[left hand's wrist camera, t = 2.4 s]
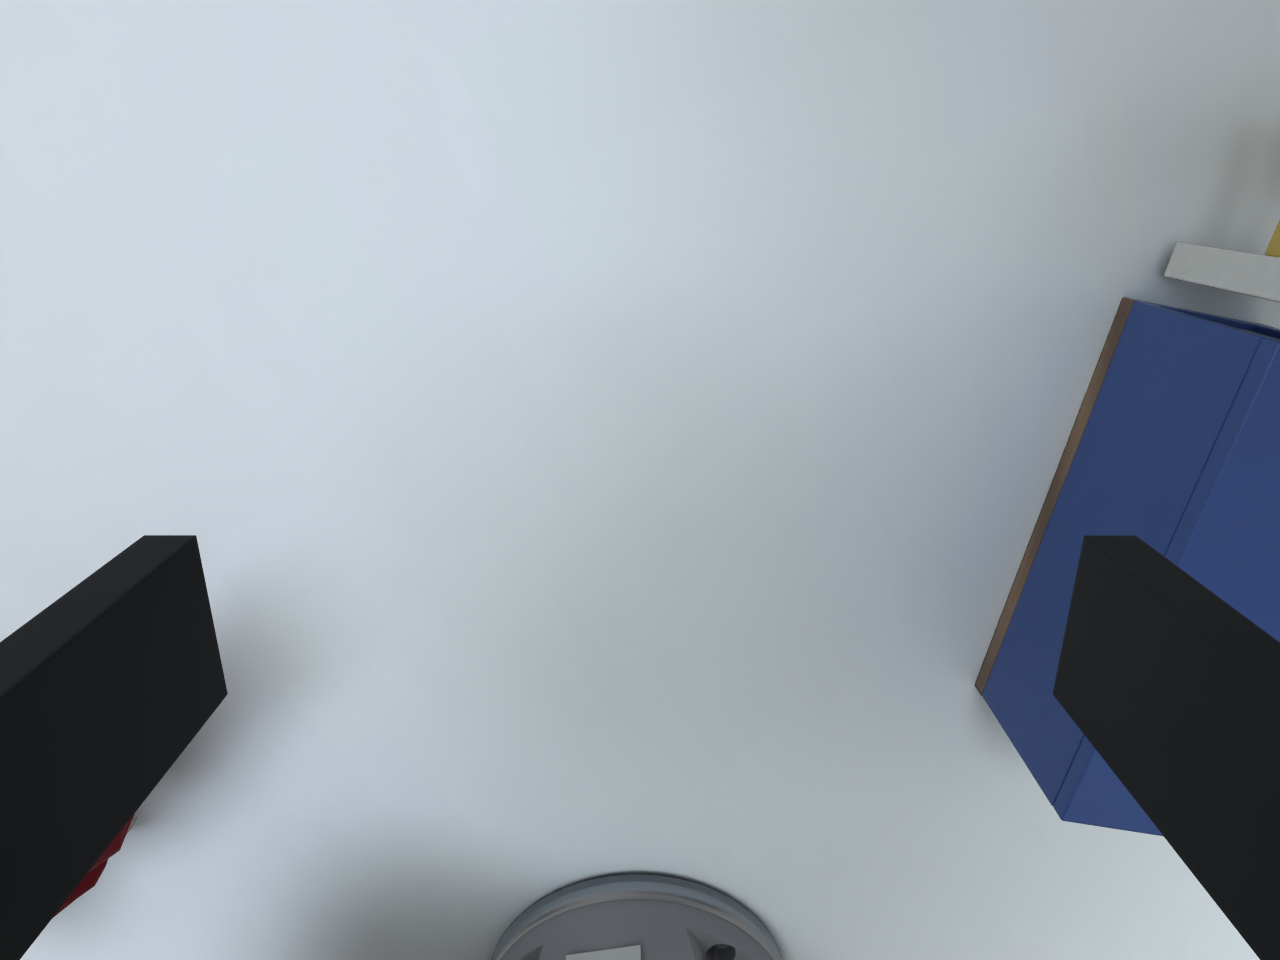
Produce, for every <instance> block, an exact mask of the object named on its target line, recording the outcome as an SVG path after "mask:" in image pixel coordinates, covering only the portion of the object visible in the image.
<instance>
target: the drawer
mask: <svg viewBox="0 0 1280 960" xmlns="http://www.w3.org/2000/svg"><path fill="white" fill-rule="evenodd" d="M1164 276H1165V277H1169V278H1173V279H1178V280H1182V281H1187V282H1191V283H1196V284H1200V285H1205V286H1209V287H1214V288H1218V289H1223V290H1227V291H1232V292H1236V293H1241V294H1245V295H1250V296H1254V297H1259V298H1263V299H1268V300H1272V301H1277V302H1280V220H1279V222H1278V224H1277V227H1276V229H1275V231H1274V234H1273V236H1272V238H1271V241H1270V243H1269V245H1268V248H1267V250H1266V252H1265V255H1260V254H1253V253H1247V252H1240V251H1234V250H1227V249H1221V248H1214V247H1207V246H1201V245H1194V244H1188V243H1181V242H1177V243H1176V246H1175V248H1174V251H1173V253H1172V256H1171V258H1170V261H1169V263H1168V266H1167V268H1166V271H1165V273H1164ZM1238 329H1240V328H1238ZM1242 330H1245V329H1242ZM1245 331H1249V330H1245ZM1249 332H1252V331H1249ZM1253 333H1256V332H1253ZM1256 334H1259V333H1256ZM1260 335H1263V334H1260ZM1263 336H1266V335H1263ZM1267 337H1270V336H1267ZM1270 338H1274V337H1270ZM1274 339H1277V338H1274ZM1277 340H1280V339H1277Z"/></svg>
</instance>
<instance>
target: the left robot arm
mask: <svg viewBox="0 0 1280 960" xmlns="http://www.w3.org/2000/svg"><path fill="white" fill-rule="evenodd" d="M226 695H227V689H226V684H225V679H224V674H223V669H222V664H221V659H220V654H219V649H218V644H217V639H216V634H215V629H214V624H213V618H212V613H211V608H210V603H209V598H208V593H207V588H206V583H205V578H204V573H203V568H202V563H201V558H200V553H199V548H198V543H197V538H196V536H143V537H142V538H140V539H139V540H138V541H136V542H135V543H133V544H132V545H131V546H129V547H128V548H127V549H125V550H124V551H123V552H121V553H120V554H119V555H117V556H116V557H115V558H113V559H112V560H111V561H109V562H108V563H107V564H105V565H104V566H102V567H101V568H100V569H98V570H97V571H96V572H94V573H93V574H92V575H90V576H89V577H88V578H86V579H85V580H84V581H82V582H81V583H80V584H78V585H77V586H76V587H74V588H73V589H72V590H70V591H69V592H67V593H66V594H65V595H63V596H62V597H61V598H59V599H58V600H57V601H55V602H54V603H53V604H51V605H50V606H49V607H47V608H46V609H45V610H43V611H42V612H41V613H39V614H38V615H37V616H35V617H34V618H32V619H31V620H30V621H28V622H27V623H26V624H24V625H23V626H22V627H20V628H19V629H18V630H16V631H15V632H14V633H12V634H11V635H10V636H8V637H7V638H6V639H4V640H3V641H2V642H0V960H20V959H21V957H22V956H23V955H24V953H25V952H26V951H27V950H28V948H29V947H30V946H31V944H32V943H33V942H34V941H35V939H36V938H37V937H38V936H39V934H40V933H41V932H42V930H43V929H44V928H45V927H46V925H47V924H48V923H49V922H50V920H51V919H52V918H53V916H54V915H55V914H56V913H57V911H58V910H59V909H60V907H61V906H62V905H63V904H64V902H65V901H66V900H67V899H68V897H69V896H70V895H71V893H72V892H73V891H74V890H75V888H76V887H77V886H78V884H79V883H80V882H81V881H82V879H83V878H84V877H85V876H86V874H87V873H88V872H89V870H90V869H91V868H92V867H93V865H94V864H95V863H96V861H97V860H98V859H99V858H100V856H101V855H102V854H103V853H104V851H105V850H106V849H107V847H108V846H109V845H110V844H111V842H112V841H113V840H114V838H115V837H116V836H117V835H118V833H119V832H120V831H121V830H122V828H123V827H124V826H125V824H126V823H127V822H128V821H129V819H130V818H131V817H132V815H133V814H134V813H135V812H136V810H137V809H138V808H139V807H140V805H141V804H142V803H143V801H144V800H145V799H146V798H147V796H148V795H149V794H150V793H151V791H152V790H153V789H154V787H155V786H156V785H157V784H158V782H159V781H160V780H161V778H162V777H163V776H164V775H165V773H166V772H167V771H168V770H169V768H170V767H171V766H172V764H173V763H174V762H175V761H176V759H177V758H178V757H179V755H180V754H181V753H182V752H183V750H184V749H185V748H186V747H187V745H188V744H189V743H190V741H191V740H192V739H193V738H194V736H195V735H196V734H197V732H198V731H199V730H200V729H201V727H202V726H203V725H204V724H205V722H206V721H207V720H208V718H209V717H210V716H211V715H212V713H213V712H214V711H215V709H216V708H217V707H218V706H219V704H220V703H221V702H222V701H223V699H224V698H225V697H226ZM1053 695H1054V697H1055V698H1056V699H1057V701H1058V702H1059V703H1060V704H1061V706H1062V707H1063V708H1064V709H1065V711H1066V712H1067V713H1068V715H1069V716H1070V717H1071V718H1072V720H1073V721H1074V722H1075V724H1076V725H1077V726H1078V727H1079V729H1080V730H1081V731H1082V732H1083V734H1084V735H1085V736H1086V738H1087V739H1088V740H1089V741H1090V743H1091V744H1092V745H1093V747H1094V748H1095V749H1096V750H1097V752H1098V753H1099V754H1100V755H1101V757H1102V758H1103V759H1104V761H1105V762H1106V763H1107V764H1108V766H1109V767H1110V768H1111V770H1112V771H1113V772H1114V773H1115V775H1116V776H1117V777H1118V778H1119V780H1120V781H1121V782H1122V784H1123V785H1124V786H1125V787H1126V789H1127V790H1128V791H1129V793H1130V794H1131V795H1132V796H1133V798H1134V799H1135V800H1136V801H1137V803H1138V804H1139V805H1140V807H1141V808H1142V809H1143V810H1144V812H1145V813H1146V814H1147V815H1148V817H1149V818H1150V819H1151V821H1152V822H1153V823H1154V824H1155V826H1156V827H1157V828H1158V830H1159V831H1160V832H1161V833H1162V835H1163V836H1164V837H1165V838H1166V840H1167V841H1168V842H1169V844H1170V845H1171V846H1172V847H1173V849H1174V850H1175V851H1176V853H1177V854H1178V855H1179V856H1180V858H1181V859H1182V860H1183V861H1184V863H1185V864H1186V865H1187V867H1188V868H1189V869H1190V870H1191V872H1192V873H1193V874H1194V876H1195V877H1196V878H1197V879H1198V881H1199V882H1200V883H1201V884H1202V886H1203V887H1204V888H1205V890H1206V891H1207V892H1208V893H1209V895H1210V896H1211V897H1212V899H1213V900H1214V901H1215V902H1216V904H1217V905H1218V906H1219V907H1220V909H1221V910H1222V911H1223V913H1224V914H1225V915H1226V916H1227V918H1228V919H1229V920H1230V922H1231V923H1232V924H1233V925H1234V927H1235V928H1236V929H1237V930H1238V932H1239V933H1240V934H1241V936H1242V937H1243V938H1244V939H1245V941H1246V942H1247V943H1248V944H1249V946H1250V947H1251V948H1252V950H1253V951H1254V952H1255V953H1256V955H1257V956H1258V957H1259V959H1260V960H1280V642H1278V641H1277V640H1276V639H1274V638H1273V637H1272V636H1270V635H1269V634H1268V633H1266V632H1265V631H1264V630H1262V629H1261V628H1260V627H1258V626H1257V625H1256V624H1254V623H1253V622H1252V621H1250V620H1249V619H1248V618H1246V617H1245V616H1243V615H1242V614H1241V613H1239V612H1238V611H1237V610H1235V609H1234V608H1233V607H1231V606H1230V605H1229V604H1227V603H1226V602H1225V601H1223V600H1222V599H1221V598H1219V597H1218V596H1217V595H1215V594H1214V593H1213V592H1211V591H1210V590H1208V589H1207V588H1206V587H1204V586H1203V585H1202V584H1200V583H1199V582H1198V581H1196V580H1195V579H1194V578H1192V577H1191V576H1190V575H1188V574H1187V573H1186V572H1184V571H1183V570H1182V569H1180V568H1179V567H1178V566H1176V565H1175V564H1173V563H1172V562H1171V561H1169V560H1168V559H1167V558H1165V557H1164V556H1163V555H1161V554H1160V553H1159V552H1157V551H1156V550H1155V549H1153V548H1152V547H1151V546H1149V545H1148V544H1147V543H1145V542H1144V541H1142V540H1141V539H1140V538H1138V537H1137V536H1084V538H1083V543H1082V548H1081V553H1080V558H1079V563H1078V568H1077V573H1076V578H1075V583H1074V588H1073V593H1072V598H1071V603H1070V608H1069V613H1068V618H1067V624H1066V629H1065V634H1064V639H1063V644H1062V649H1061V654H1060V659H1059V664H1058V669H1057V674H1056V679H1055V684H1054V689H1053ZM492 960H783V958H782V955H781V952H780V950H779V948H778V946H777V944H776V942H775V940H774V939H773V937H772V936H771V934H770V933H769V931H768V930H767V929H766V928H765V926H764V925H763V924H762V923H761V922H760V921H759V920H758V919H757V918H756V917H755V916H754V915H753V914H752V913H751V912H750V911H748V910H747V909H746V908H744V907H743V906H742V905H740V904H739V903H737V902H736V901H734V900H732V899H731V898H729V897H727V896H725V895H723V894H721V893H720V892H718V891H715V890H713V889H710V888H708V887H706V886H703V885H700V884H697V883H693V882H690V881H686V880H682V879H678V878H673V877H666V876H659V875H645V874H628V875H615V876H607V877H601V878H596V879H592V880H587V881H583V882H580V883H577V884H574V885H571V886H568V887H566V888H563V889H561V890H558V891H556V892H554V893H552V894H550V895H548V896H546V897H545V898H543V899H541V900H540V901H538V902H537V903H535V904H534V905H532V906H531V907H529V908H528V909H527V910H526V911H524V912H523V913H522V914H521V915H520V916H519V917H518V918H517V919H516V920H515V921H514V922H513V923H512V924H511V925H510V926H509V928H508V929H507V930H506V931H505V933H504V934H503V936H502V938H501V939H500V941H499V942H498V945H497V947H496V949H495V951H494V954H493V957H492Z"/></svg>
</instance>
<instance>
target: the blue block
mask: <svg viewBox="0 0 1280 960" xmlns="http://www.w3.org/2000/svg"><path fill="white" fill-rule="evenodd" d="M1238 328H1240V329H1238ZM1242 329H1245V330H1249V331H1252V332H1249V331H1245V330H1242ZM1253 332H1256V333H1259V334H1256V333H1253ZM1260 334H1263V335H1266V336H1263V335H1260ZM1267 336H1270V337H1274V338H1277V339H1280V329H1276V328H1274V327H1271V326H1267V325H1263V324H1259V323H1252V322H1247V321H1242V320H1236V319H1231V318H1226V317H1221V316H1216V315H1211V314H1205V313H1200V312H1195V311H1190V310H1185V309H1180V308H1174V307H1169V306H1164V305H1159V304H1154V303H1149V302H1143V301H1138V300H1133V299H1129V298H1125V297H1123V298H1122V301H1121V304H1120V306H1119V309H1118V312H1117V314H1116V317H1115V319H1114V322H1113V325H1112V327H1111V330H1110V332H1109V335H1108V338H1107V340H1106V343H1105V346H1104V348H1103V351H1102V353H1101V356H1100V359H1099V361H1098V364H1097V367H1096V369H1095V372H1094V374H1093V377H1092V380H1091V382H1090V385H1089V388H1088V390H1087V393H1086V395H1085V398H1084V401H1083V403H1082V406H1081V408H1080V411H1079V414H1078V416H1077V419H1076V422H1075V424H1074V427H1073V429H1072V432H1071V435H1070V437H1069V440H1068V443H1067V445H1066V448H1065V450H1064V453H1063V456H1062V458H1061V461H1060V464H1059V466H1058V469H1057V471H1056V474H1055V477H1054V479H1053V482H1052V484H1051V487H1050V490H1049V492H1048V495H1047V498H1046V500H1045V503H1044V505H1043V508H1042V511H1041V513H1040V516H1039V519H1038V521H1037V524H1036V526H1035V529H1034V532H1033V534H1032V537H1031V540H1030V542H1029V545H1028V547H1027V550H1026V553H1025V555H1024V558H1023V560H1022V563H1021V566H1020V568H1019V571H1018V574H1017V576H1016V579H1015V581H1014V584H1013V587H1012V589H1011V592H1010V595H1009V597H1008V600H1007V602H1006V605H1005V608H1004V610H1003V613H1002V616H1001V618H1000V621H999V623H998V626H997V629H996V631H995V634H994V637H993V639H992V642H991V644H990V647H989V650H988V652H987V655H986V657H985V660H984V663H983V665H982V668H981V671H980V673H979V676H978V678H977V681H976V684H975V687H976V688H977V690H978V691H979V693H980V694H981V696H983V698H984V699H985V701H986V702H987V704H988V706H989V707H990V709H991V710H992V712H993V713H994V715H995V717H996V718H997V720H998V721H999V723H1000V724H1001V726H1002V728H1003V729H1004V731H1005V732H1006V734H1007V736H1008V737H1009V739H1010V740H1011V742H1012V743H1013V745H1014V747H1015V748H1016V750H1017V751H1018V753H1019V754H1020V756H1021V758H1022V759H1023V761H1024V762H1025V764H1026V765H1027V767H1028V769H1029V770H1030V772H1031V773H1032V775H1033V777H1034V778H1035V780H1036V781H1037V783H1038V784H1039V786H1040V788H1041V789H1042V791H1043V792H1044V794H1045V795H1046V797H1047V799H1048V800H1049V802H1050V803H1051V805H1052V806H1054V809H1055V811H1056V812H1057V814H1058V815H1059V817H1060V819H1061V820H1063V821H1068V822H1075V823H1081V824H1088V825H1094V826H1101V827H1107V828H1114V829H1121V830H1127V831H1134V832H1140V833H1147V834H1153V835H1160V836H1163V835H1162V833H1161V832H1160V831H1159V830H1158V828H1157V827H1156V826H1155V824H1154V823H1153V822H1152V821H1151V819H1150V818H1149V817H1148V815H1147V814H1146V813H1145V812H1144V810H1143V809H1142V808H1141V807H1140V805H1139V804H1138V803H1137V801H1136V800H1135V799H1134V798H1133V796H1132V795H1131V794H1130V793H1129V791H1128V790H1127V789H1126V787H1125V786H1124V785H1123V784H1122V782H1121V781H1120V780H1119V778H1118V777H1117V776H1116V775H1115V773H1114V772H1113V771H1112V770H1111V768H1110V767H1109V766H1108V764H1107V763H1106V762H1105V761H1104V759H1103V758H1102V757H1101V755H1100V754H1099V753H1098V752H1097V750H1096V749H1095V748H1094V747H1093V745H1092V744H1091V743H1090V741H1089V740H1088V739H1087V738H1086V736H1085V735H1084V734H1083V732H1082V731H1081V730H1080V729H1079V727H1078V726H1077V725H1076V724H1075V722H1074V721H1073V720H1072V718H1071V717H1070V716H1069V715H1068V713H1067V712H1066V711H1065V709H1064V708H1063V707H1062V706H1061V704H1060V703H1059V702H1058V701H1057V699H1056V698H1055V697H1054V695H1053V689H1054V684H1055V679H1056V674H1057V669H1058V664H1059V659H1060V654H1061V649H1062V644H1063V639H1064V634H1065V629H1066V624H1067V618H1068V613H1069V608H1070V603H1071V598H1072V593H1073V588H1074V583H1075V578H1076V573H1077V568H1078V563H1079V558H1080V553H1081V548H1082V543H1083V538H1084V536H1137V537H1138V538H1140V539H1141V540H1142V541H1144V542H1145V543H1147V544H1148V545H1149V546H1151V547H1152V548H1153V549H1155V550H1156V551H1157V552H1159V553H1160V554H1161V555H1163V556H1164V557H1165V558H1167V559H1168V560H1169V561H1171V562H1172V563H1173V564H1175V565H1176V566H1178V567H1179V568H1180V569H1182V570H1183V571H1184V572H1186V573H1187V574H1188V575H1190V576H1191V577H1192V578H1194V579H1195V580H1196V581H1198V582H1199V583H1200V584H1202V585H1203V586H1204V587H1206V588H1207V589H1208V590H1210V591H1211V592H1213V593H1214V594H1215V595H1217V596H1218V597H1219V598H1221V599H1222V600H1223V601H1225V602H1226V603H1227V604H1229V605H1230V606H1231V607H1233V608H1234V609H1235V610H1237V611H1238V612H1239V613H1241V614H1242V615H1243V616H1245V617H1246V618H1248V619H1249V620H1250V621H1252V622H1253V623H1254V624H1256V625H1257V626H1258V627H1260V628H1261V629H1262V630H1264V631H1265V632H1266V633H1268V634H1269V635H1270V636H1272V637H1273V638H1274V639H1276V640H1277V641H1278V642H1280V340H1277V339H1274V338H1270V337H1267Z"/></svg>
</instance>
